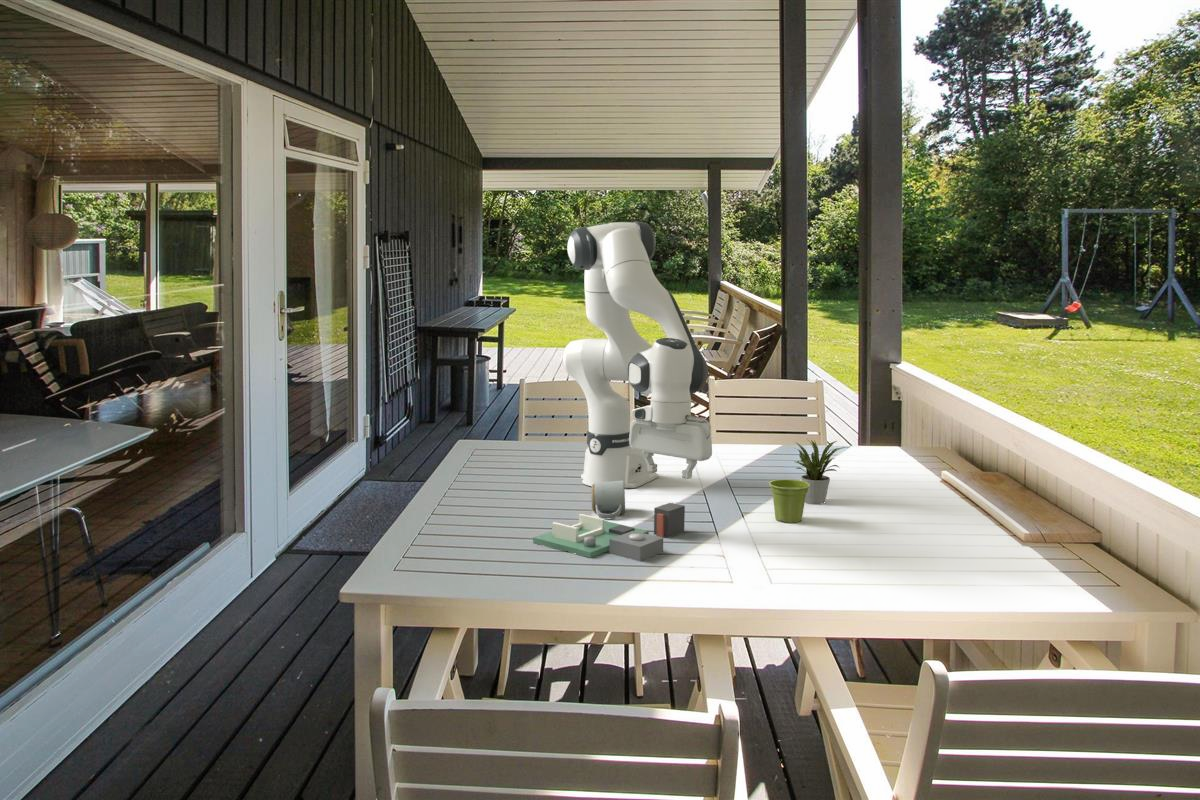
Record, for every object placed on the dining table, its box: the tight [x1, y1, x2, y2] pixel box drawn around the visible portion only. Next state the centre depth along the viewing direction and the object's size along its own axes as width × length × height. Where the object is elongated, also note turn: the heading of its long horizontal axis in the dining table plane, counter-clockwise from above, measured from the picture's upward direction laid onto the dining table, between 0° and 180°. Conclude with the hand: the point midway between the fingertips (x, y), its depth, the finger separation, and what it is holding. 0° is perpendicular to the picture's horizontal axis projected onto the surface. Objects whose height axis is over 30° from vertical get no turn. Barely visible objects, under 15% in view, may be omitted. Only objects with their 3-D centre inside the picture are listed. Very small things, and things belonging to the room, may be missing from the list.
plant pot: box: [768, 478, 810, 524], centre depth 224 cm, size 9×9×9 cm
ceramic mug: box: [590, 480, 626, 519], centre depth 229 cm, size 11×8×8 cm
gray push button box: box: [608, 531, 664, 562], centre depth 199 cm, size 8×8×4 cm
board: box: [532, 513, 650, 559], centre depth 208 cm, size 20×16×4 cm
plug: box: [653, 502, 686, 538], centre depth 213 cm, size 7×4×6 cm, turn 140°
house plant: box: [793, 438, 850, 505], centre depth 240 cm, size 14×14×16 cm
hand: (669, 475), depth 212 cm, fingers open, 8 cm apart
